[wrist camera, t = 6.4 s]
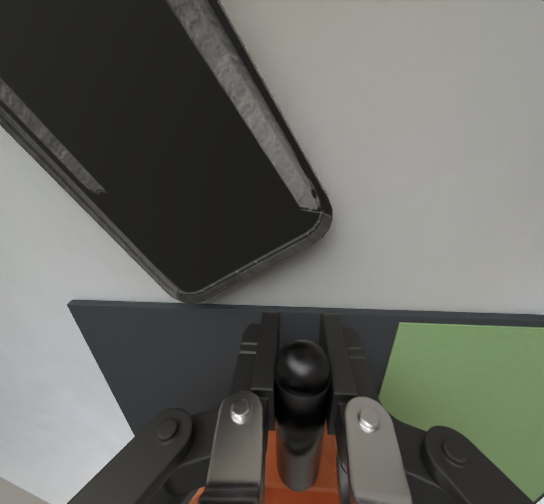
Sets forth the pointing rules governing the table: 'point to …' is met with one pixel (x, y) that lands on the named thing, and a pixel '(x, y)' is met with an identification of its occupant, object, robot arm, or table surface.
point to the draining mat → (379, 354)
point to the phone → (160, 135)
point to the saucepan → (300, 430)
